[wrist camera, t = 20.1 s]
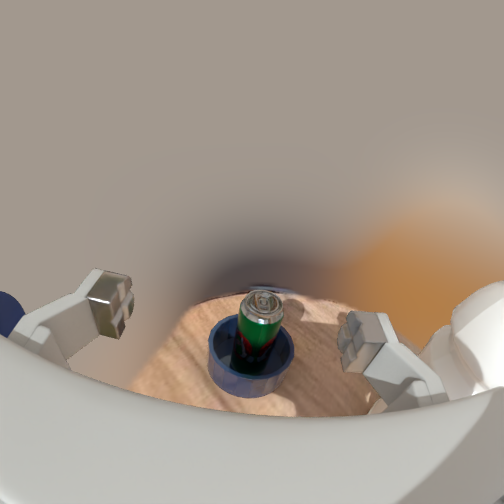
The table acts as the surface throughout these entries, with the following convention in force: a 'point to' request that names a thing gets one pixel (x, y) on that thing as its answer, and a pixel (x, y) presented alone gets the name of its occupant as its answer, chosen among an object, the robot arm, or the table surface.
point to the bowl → (242, 383)
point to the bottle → (468, 346)
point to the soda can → (256, 331)
